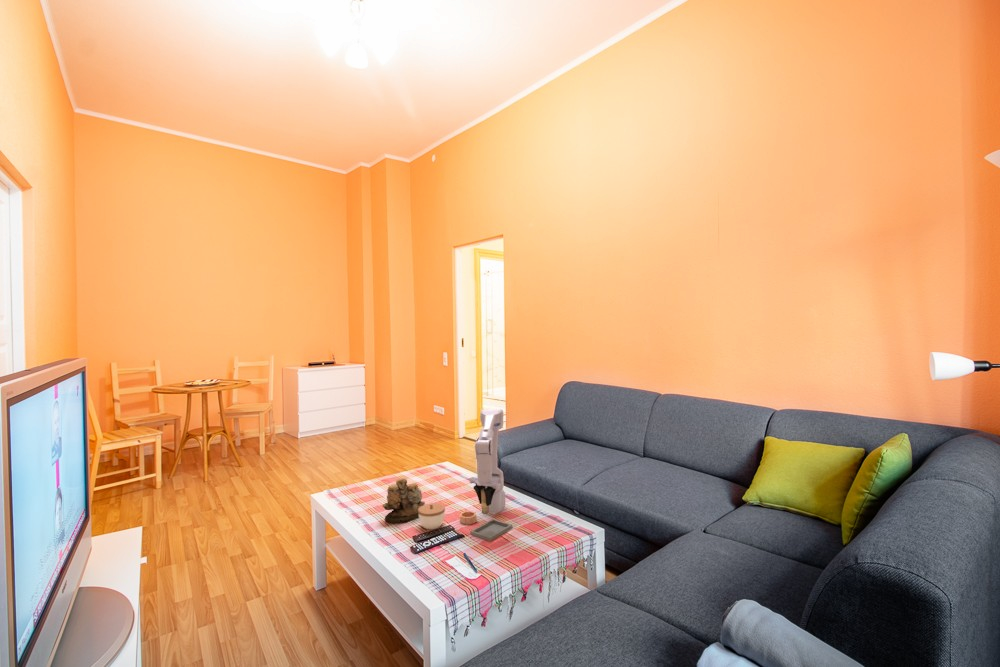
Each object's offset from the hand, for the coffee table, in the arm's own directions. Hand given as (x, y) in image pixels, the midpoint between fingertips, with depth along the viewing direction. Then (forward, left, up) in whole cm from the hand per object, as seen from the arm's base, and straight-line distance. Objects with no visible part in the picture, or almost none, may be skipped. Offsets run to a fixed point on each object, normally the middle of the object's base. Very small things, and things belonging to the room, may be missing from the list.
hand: (485, 504), depth 185 cm
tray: (0, +3, -11) cm, 11 cm away
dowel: (0, 0, -3) cm, 3 cm away
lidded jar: (+10, -20, -11) cm, 25 cm away
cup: (-2, -11, -11) cm, 15 cm away
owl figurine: (+10, -37, -11) cm, 40 cm away
